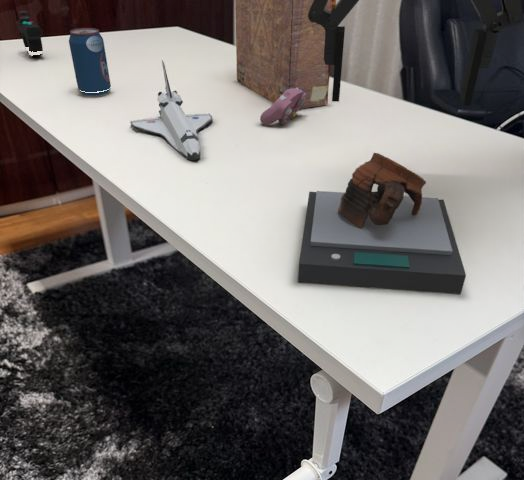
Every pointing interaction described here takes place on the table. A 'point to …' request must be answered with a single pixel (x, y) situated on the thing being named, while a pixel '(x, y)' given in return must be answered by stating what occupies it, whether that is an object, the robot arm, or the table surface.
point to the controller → (30, 33)
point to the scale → (381, 248)
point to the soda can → (89, 61)
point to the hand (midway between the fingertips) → (399, 100)
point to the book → (281, 49)
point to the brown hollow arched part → (379, 191)
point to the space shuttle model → (175, 123)
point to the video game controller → (284, 107)
